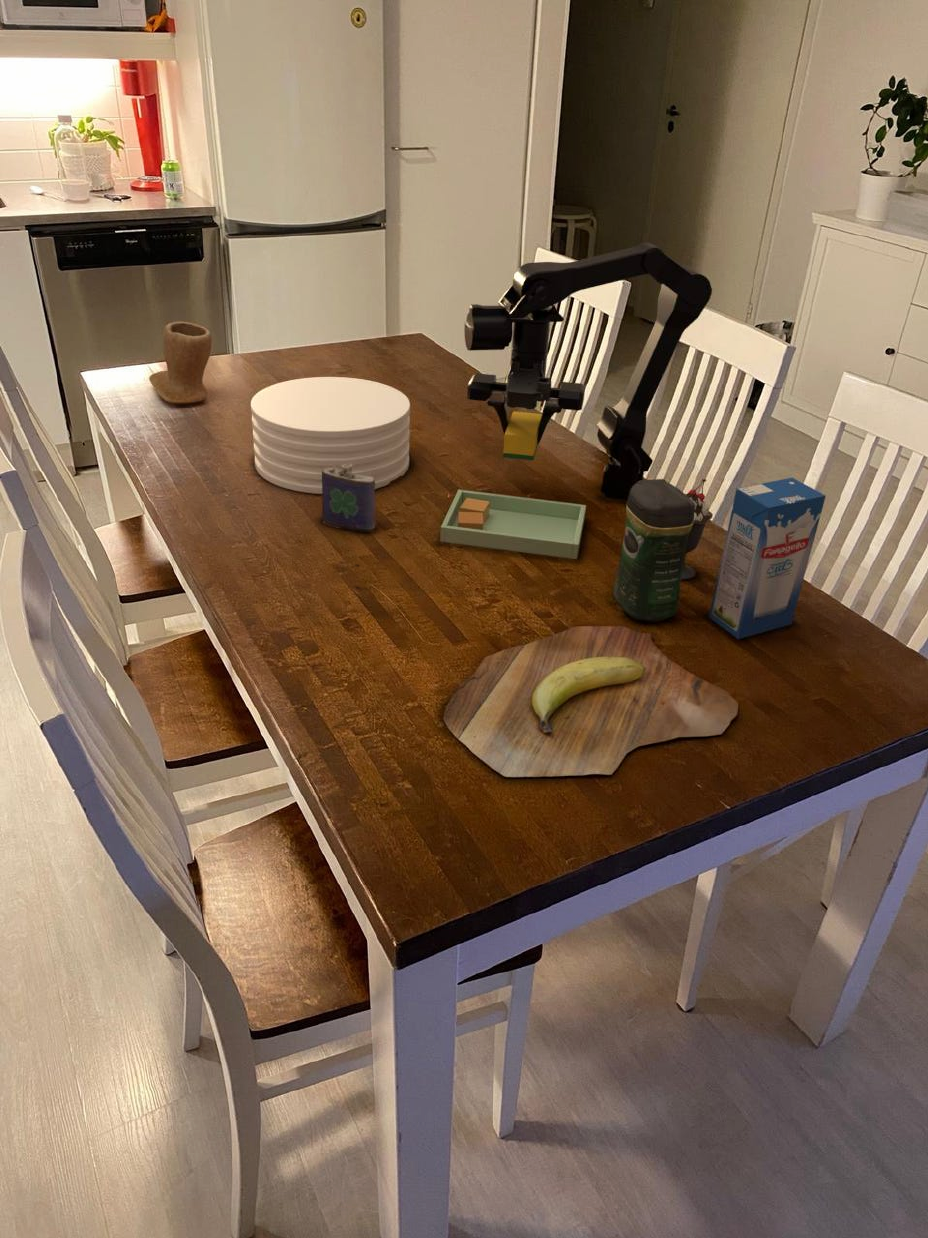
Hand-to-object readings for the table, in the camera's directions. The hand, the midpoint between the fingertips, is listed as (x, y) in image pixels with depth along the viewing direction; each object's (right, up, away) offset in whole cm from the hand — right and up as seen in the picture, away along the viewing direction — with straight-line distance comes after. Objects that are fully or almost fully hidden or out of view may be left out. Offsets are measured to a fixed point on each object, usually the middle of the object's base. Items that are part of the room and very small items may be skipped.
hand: (522, 441), depth 163 cm
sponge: (0, -1, 0) cm, 1 cm away
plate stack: (-34, -1, +16) cm, 38 cm away
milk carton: (+31, -30, -25) cm, 50 cm away
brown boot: (-69, +17, +42) cm, 82 cm away
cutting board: (+5, -40, -43) cm, 59 cm away
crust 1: (-8, -13, -2) cm, 16 cm away
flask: (-29, -15, -5) cm, 33 cm away
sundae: (+23, -23, -13) cm, 35 cm away
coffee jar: (+16, -28, -23) cm, 40 cm away
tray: (-2, -16, -5) cm, 17 cm away
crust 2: (-9, -16, -6) cm, 19 cm away
